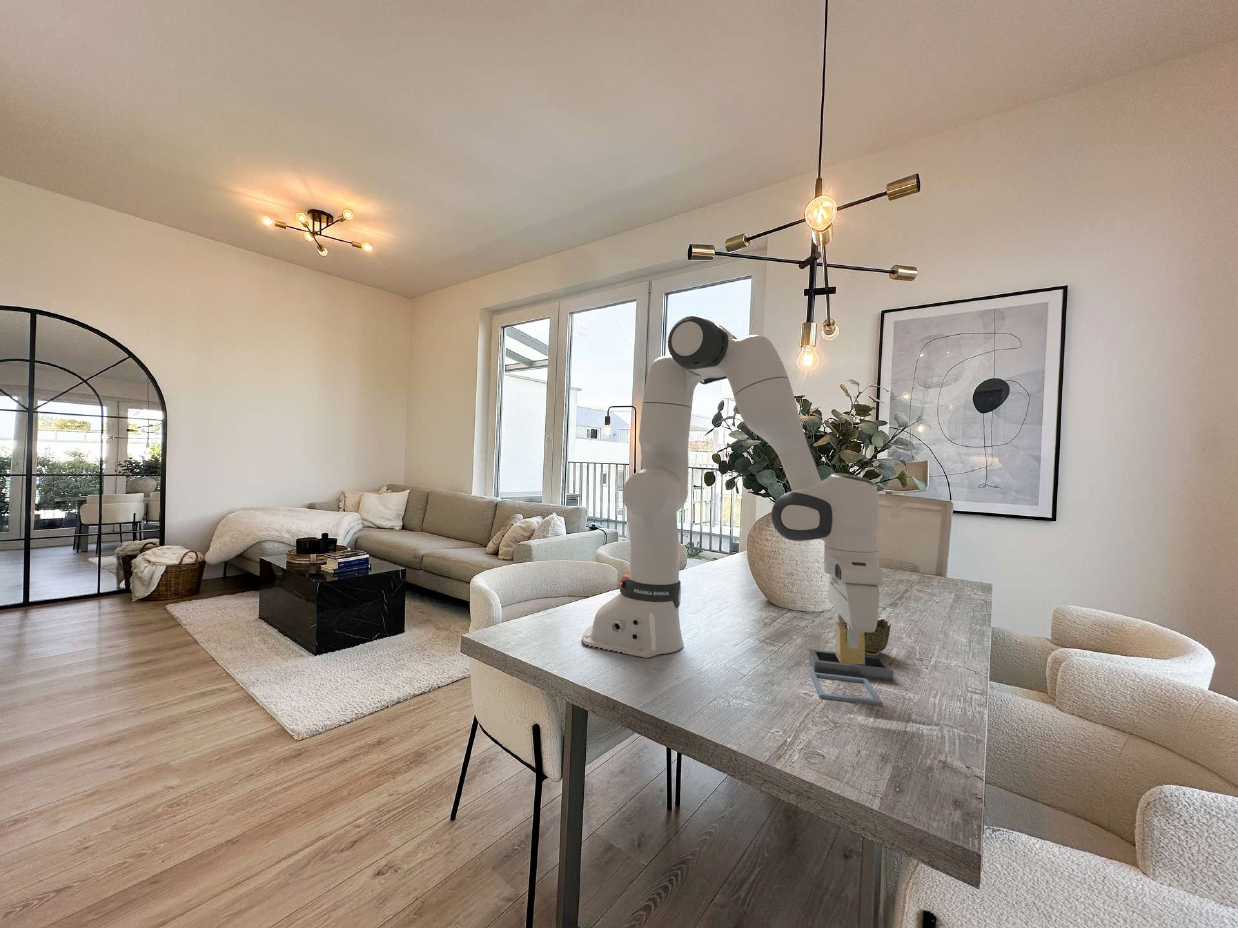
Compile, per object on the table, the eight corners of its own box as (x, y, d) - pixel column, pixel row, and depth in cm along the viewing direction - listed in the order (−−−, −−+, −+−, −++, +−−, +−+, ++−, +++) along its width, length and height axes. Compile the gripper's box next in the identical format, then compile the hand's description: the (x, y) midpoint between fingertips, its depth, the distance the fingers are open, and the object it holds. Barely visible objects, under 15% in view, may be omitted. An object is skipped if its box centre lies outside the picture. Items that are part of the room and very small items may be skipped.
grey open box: (814, 677, 98) (814, 661, 98) (808, 663, 105) (808, 649, 105) (892, 686, 96) (893, 670, 96) (881, 672, 102) (882, 657, 102)
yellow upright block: (840, 662, 90) (839, 626, 90) (835, 654, 93) (834, 620, 94) (864, 664, 89) (864, 628, 89) (859, 656, 93) (858, 621, 93)
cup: (894, 665, 106) (895, 627, 106) (856, 661, 108) (857, 623, 108) (883, 652, 114) (884, 617, 114) (847, 649, 115) (849, 613, 115)
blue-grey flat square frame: (819, 703, 87) (819, 694, 87) (809, 679, 97) (810, 671, 97) (882, 711, 85) (882, 702, 85) (866, 686, 95) (866, 678, 95)
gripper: (821, 553, 102) (819, 623, 102) (844, 574, 82) (842, 660, 82) (854, 555, 101) (853, 625, 101) (887, 577, 81) (885, 664, 81)
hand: (848, 641), depth 91 cm, fingers closed on yellow upright block, 4 cm apart
